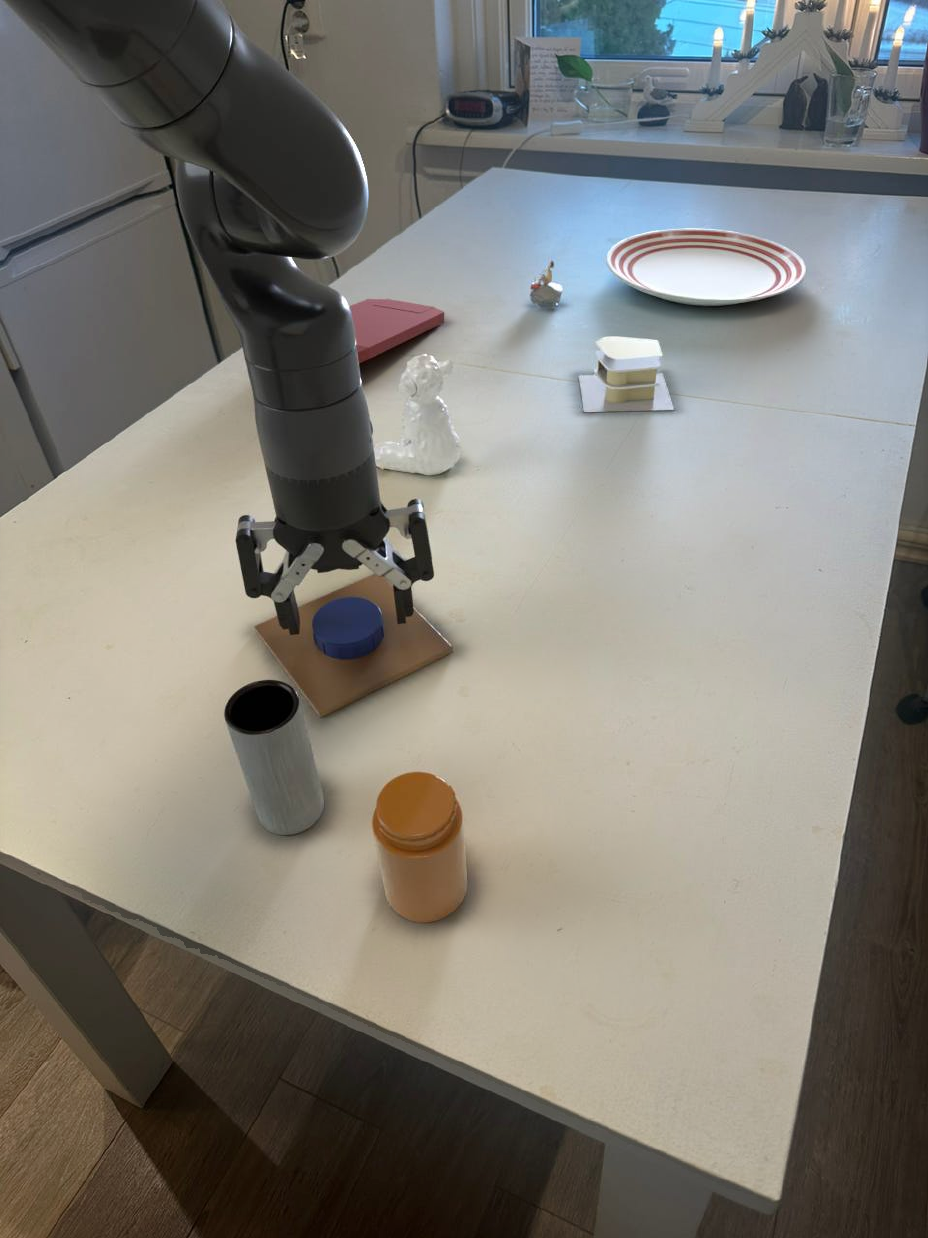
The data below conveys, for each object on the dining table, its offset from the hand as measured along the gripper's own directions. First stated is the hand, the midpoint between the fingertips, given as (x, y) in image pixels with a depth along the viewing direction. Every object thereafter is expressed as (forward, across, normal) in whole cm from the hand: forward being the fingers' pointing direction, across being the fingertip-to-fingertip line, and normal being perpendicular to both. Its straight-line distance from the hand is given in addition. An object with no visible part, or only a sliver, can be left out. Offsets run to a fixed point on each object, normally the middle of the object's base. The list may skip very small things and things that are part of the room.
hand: (349, 622), depth 70 cm
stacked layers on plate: (+2, +32, +38) cm, 49 cm away
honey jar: (+2, +4, -23) cm, 24 cm away
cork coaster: (+2, 0, 0) cm, 2 cm away
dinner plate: (+2, +51, +68) cm, 85 cm away
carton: (+2, +2, +55) cm, 55 cm away
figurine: (+2, +28, +64) cm, 70 cm away
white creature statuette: (+2, +8, +27) cm, 28 cm away
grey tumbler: (+2, -4, -16) cm, 17 cm away
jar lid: (0, 0, 0) cm, 0 cm away
